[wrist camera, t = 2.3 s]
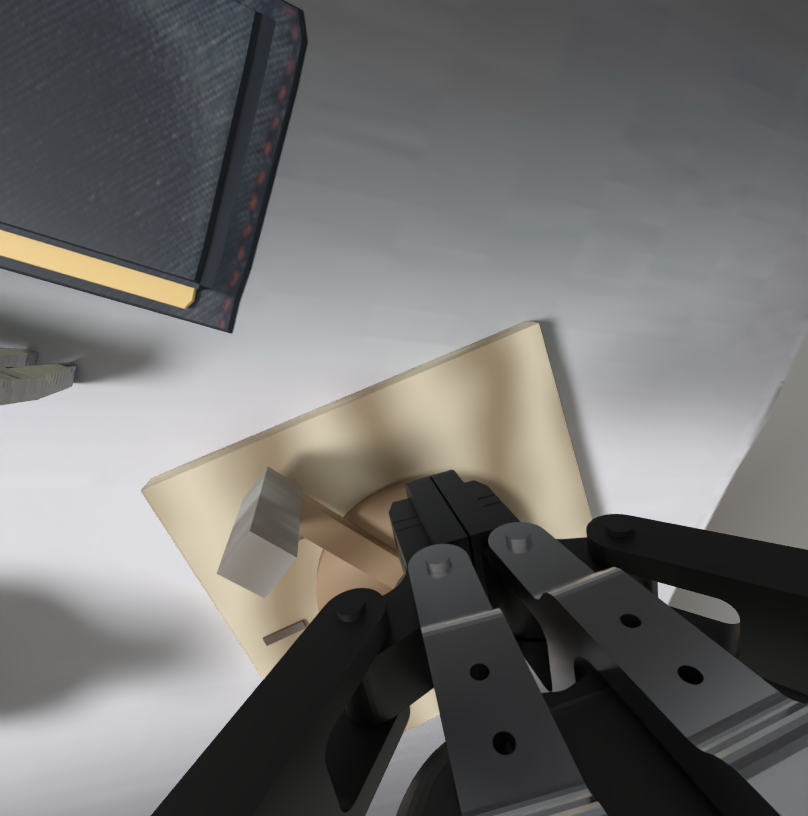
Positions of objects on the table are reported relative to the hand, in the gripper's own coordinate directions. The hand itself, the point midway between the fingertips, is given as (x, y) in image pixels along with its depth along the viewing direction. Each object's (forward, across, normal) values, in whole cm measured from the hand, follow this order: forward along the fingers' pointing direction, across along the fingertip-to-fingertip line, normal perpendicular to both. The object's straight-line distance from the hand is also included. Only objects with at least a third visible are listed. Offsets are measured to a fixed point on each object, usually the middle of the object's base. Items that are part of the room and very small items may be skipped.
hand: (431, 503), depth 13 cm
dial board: (+12, 0, +10) cm, 15 cm away
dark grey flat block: (+13, +11, -17) cm, 24 cm away
